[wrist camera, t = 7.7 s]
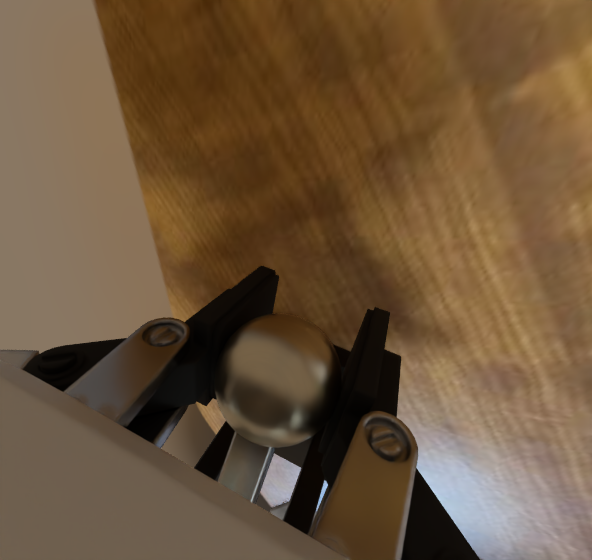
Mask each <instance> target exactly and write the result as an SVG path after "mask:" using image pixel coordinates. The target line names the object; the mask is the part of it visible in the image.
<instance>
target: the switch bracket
mask: <svg viewBox="0 0 592 560" xmlns="http://www.w3.org/2000/svg"><path fill="white" fill-rule="evenodd" d="M333 347H334V348H335V350H336V353H337V355H338V358H339V362H340V366H341V374H343V371H344V368H345V366H346V363H347V360H348V358H349V355H350V353H351V352H349V351H347V350H344V349H342V348H339V347H337V346H335V345H333ZM325 426H326V424H325V425H324V426H323V427H322V428H321V430H320V431H318V432H317V433H316V434H315V435H313V436H312V437H310V438H309V439H307V440H305V441H303V442H301V443H299V444H296V445H292V446H288V447H280V448H276V449H275V452H274V453H275V454H276V455H278V456H280V457H282V458H284V459H286V460H288V461H290V462H291V463H293V464H295V465H297V466H299V467H301V471H300V474H299V476H298V479H297V482H296V485H295V488H294V490H293V493H292V496H291V499H290V501H289V504H288V507H287V510H286V513H285V515H284V518H283V521H284V522H286V523H288V524H289V525H291V526H293V527H294V528H296V529H298V530H299V531H301V532H303V533H304V534H306V535H307V534H308V532H309V529H310V527H311V525H312V522H313V519H314V515H315V512H316V508H317V504H318V501H319V497H320V494H321V490H322V487H323V483H324V480H325V481H326V479H325V477H324V474H323V472H322V466H320V465H321V462H322V459H323V455H324V454H322V453H320V452H318V448H319V445H320V442H321V439H322V436H323V433H324V430H325ZM234 433H235V430H234V429H233V428H232V427H231V426H230V425H229V424H228V422H227V421H225V423H224V424H223V426H222V427H221V429H220V430H219V432H218V433H217V435H216V436H215V438H214V439H213V441H212V442H211V444H210V445H209V447H208V448H207V450H206V451H205V453H204V454H203V455H202V457H201V458H200V460H199V462H198V463H197V464H196V466H195V467H194V469H196V470H198V471H200V472H201V473H203V474H205V475H206V476H208V477H210V478H212V479H213V480H215V481H217V482H218V479H219V476H220V473H221V470H222V467H223V464H224V462H225V459H226V456H227V453H228V450H229V447H230V444H231V441H232V439H233V436H234Z"/></svg>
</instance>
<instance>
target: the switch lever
mask: <svg viewBox="0 0 592 560" xmlns="http://www.w3.org/2000/svg"><path fill="white" fill-rule="evenodd" d="M341 383H342V374H341V366H340V362H339V358H338V355H337V353H336V350H335V348H334V347H333V345H332V343H331V341H330V340H329V338H328V337H327V336H326V335H325V334H324V332H323V331H322V330H321V329H319V328H318V327H317V326H316V325H314V324H313V323H311V322H310V321H308V320H306V319H304V318H302V317H299V316H296V315H292V314H286V313H275V314H267V315H263V316H260V317H257V318H254V319H252V320H251V321H249V322H247V323H245V324H244V325H242V326H241V327H240V328H239V329H238V330H237V331H236V332H235V333H234V334H233V335H232V336H231V337H230V338H229V339H228V341H227V342H226V344H225V345H224V347H223V349H222V351H221V353H220V355H219V358H218V361H217V365H216V370H215V378H214V386H215V394H216V398H217V402H218V405H219V408H220V410H221V412H222V414H223V416H224V418H225V419H226V421H227V422H228V424H229V425H230V426H231V427H232V428H233V429H234V430H235V433H234V436H233V439H232V441H231V444H230V447H229V450H228V453H227V456H226V459H225V462H224V464H223V467H222V470H221V473H220V476H219V479H218V483H220V484H222V485H223V486H225V487H227V488H229V489H230V490H232V491H234V492H235V493H237V494H239V495H240V496H242V497H244V498H245V499H247V500H249V501H251V502H252V503H254V504H256V502H257V499H258V496H259V493H260V491H261V488H262V485H263V482H264V479H265V477H266V474H267V471H268V468H269V466H270V463H271V460H272V457H273V454H274V452H275V449H276V448H280V447H288V446H292V445H296V444H299V443H301V442H303V441H305V440H307V439H309V438H310V437H312V436H313V435H315V434H316V433H317V432H318V431H320V430H321V428H322V427H323V426H324V425H325V424H326V423H327V422H328V420H329V419H330V417H331V416H332V414H333V412H334V409H335V407H336V404H337V401H338V398H339V395H340V392H341Z"/></svg>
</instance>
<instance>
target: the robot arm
mask: <svg viewBox="0 0 592 560" xmlns="http://www.w3.org/2000/svg"><path fill="white" fill-rule="evenodd" d="M278 281H279V276H278V275H276V272H275V270H273V269H270V268H267V267H264V266H260V267H258V268H257V269H256V270H255V271H253V272H252V273H251V274H250V275H248V276H247V277H246V278H244V279H243V280H242V281H241V282H239V283H238V284H237V285H236V286H234V287H233V288H232V289H227V290H226V291H224V292H223V293H222V294H221V295H219V296H218V297H217V298H215V299H214V300H213V301H211V302H210V303H209V304H208V305H206V306H205V307H204V308H202V309H201V310H200V311H199V312H197V313H196V314H195V315H193V316H192V317H191V318H189V319H188V320H187V321H186V322H183V321H181V320H179V319H175V318H159V319H154V320H151V321H149V322H147V323H145V324H144V325H142V326H141V327H140V328H139V329H137V330H136V331H135V332H134V333H133V334H131V335H130V336H129V337H128V338H124V339H115V340H106V341H98V342H90V343H82V344H73V345H65V346H60V347H56V348H52V349H50V350H47V351H44V352H43V353H41V354H39V351H33V350H29V351H28V350H0V560H480V559H479V558H478V556H477V555H476V553H475V552H474V550H473V549H472V548H471V546H470V545H469V543H468V542H467V540H466V539H465V537H464V536H463V535H462V533H461V532H460V530H459V529H458V527H457V526H456V524H455V523H454V522H453V520H452V519H451V517H450V516H449V514H448V513H447V511H446V510H445V509H444V507H443V506H442V504H441V503H440V501H439V500H438V499H437V497H436V496H435V494H434V493H433V491H432V490H431V488H430V487H429V486H428V484H427V483H426V481H425V480H424V478H423V477H422V475H421V474H420V473H419V471H418V470H417V468H416V465H417V459H418V446H417V443H416V440H415V438H414V436H413V434H412V433H411V431H410V430H409V428H408V427H407V426H406V425H405V424H404V423H403V422H402V421H401V420H399V419H398V418H396V417H397V404H398V392H399V379H400V366H401V356H400V355H397V354H395V353H392V352H389V351H387V350H384V348H385V342H386V336H387V330H388V324H389V317H390V312H388V311H385V310H382V309H379V308H377V307H375V308H374V310H371V309H367V312H366V314H365V317H364V319H363V322H362V324H361V327H360V330H359V332H358V335H357V337H356V340H355V342H354V345H353V348H352V350H351V353H350V355H349V358H348V360H347V363H346V366H345V368H344V371H343V374H342V383H341V392H340V395H339V398H338V401H337V404H336V407H335V409H334V412H333V414H332V416H331V417H330V419H329V420H328V422H327V423H326V426H325V430H324V433H323V436H322V439H321V442H320V445H319V448H318V452H320V453H322V454H324V455H323V459H322V462H321V465H320V466H322V472H323V474H324V477H325V479H326V481H327V483H328V487H327V489H326V491H325V494H324V496H323V498H322V501H321V503H320V506H319V508H318V510H317V513H316V515H315V517H314V520H313V522H312V525H311V527H310V529H309V532H308V534H307V535H306V534H304V533H303V532H301V531H299V530H298V529H296V528H294V527H293V526H291V525H289V524H288V523H286V522H284V521H283V520H281V519H279V518H277V517H276V516H274V515H272V514H271V513H269V512H267V511H266V510H264V509H262V508H261V507H259V506H257V505H256V504H254V503H252V502H251V501H249V500H247V499H245V498H244V497H242V496H240V495H239V494H237V493H235V492H234V491H232V490H230V489H229V488H227V487H225V486H223V485H222V484H220V483H218V482H217V481H215V480H213V479H212V478H210V477H208V476H206V475H205V474H203V473H201V472H200V471H198V470H196V469H194V468H193V467H191V466H189V465H188V464H186V463H184V462H183V461H181V460H179V459H177V458H176V457H174V456H172V455H171V454H169V453H167V452H165V451H164V450H162V449H161V447H162V446H163V444H164V443H165V441H166V440H167V438H168V437H169V435H170V434H171V432H172V431H173V429H174V428H175V426H176V425H177V423H178V422H179V420H180V419H181V417H182V416H183V414H184V413H185V411H186V410H187V408H188V405H190V404H195V403H196V401H197V402H199V403H201V404H203V405H205V406H207V405H208V403H209V402H210V401H211V400H212V398H214V399H217V398H216V394H215V386H214V378H215V370H216V365H217V361H218V358H219V355H220V353H221V351H222V349H223V347H224V345H225V344H226V342H227V341H228V339H229V338H230V337H231V336H232V335H233V334H234V333H235V332H236V331H237V330H238V329H239V328H240V327H241V326H242V325H244V324H245V323H247V322H249V321H251V320H252V319H254V318H257V317H260V316H263V315H267V314H272V313H273V308H274V302H275V297H276V291H277V286H278Z"/></svg>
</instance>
